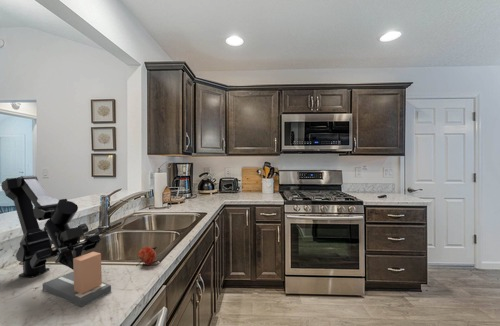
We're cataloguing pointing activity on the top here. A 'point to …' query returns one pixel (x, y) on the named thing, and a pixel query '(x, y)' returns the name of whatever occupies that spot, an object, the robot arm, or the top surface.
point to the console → (65, 290)
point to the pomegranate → (147, 255)
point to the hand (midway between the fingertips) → (79, 271)
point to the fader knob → (87, 272)
